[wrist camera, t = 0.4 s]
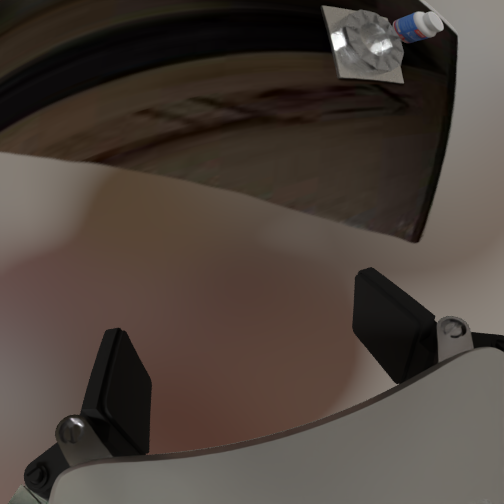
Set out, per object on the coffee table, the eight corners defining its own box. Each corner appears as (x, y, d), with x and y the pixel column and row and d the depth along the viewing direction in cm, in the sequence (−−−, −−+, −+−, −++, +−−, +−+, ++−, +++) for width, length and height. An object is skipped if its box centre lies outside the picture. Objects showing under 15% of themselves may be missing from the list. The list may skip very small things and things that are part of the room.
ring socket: (320, 7, 30) (330, -2, 26) (384, 19, 32) (397, 14, 28) (337, 78, 35) (350, 73, 32) (401, 83, 37) (414, 81, 33)
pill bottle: (395, 40, 34) (429, 28, 25) (389, 17, 31) (421, 3, 23) (414, 46, 34) (448, 37, 25) (408, 24, 32) (441, 13, 23)
